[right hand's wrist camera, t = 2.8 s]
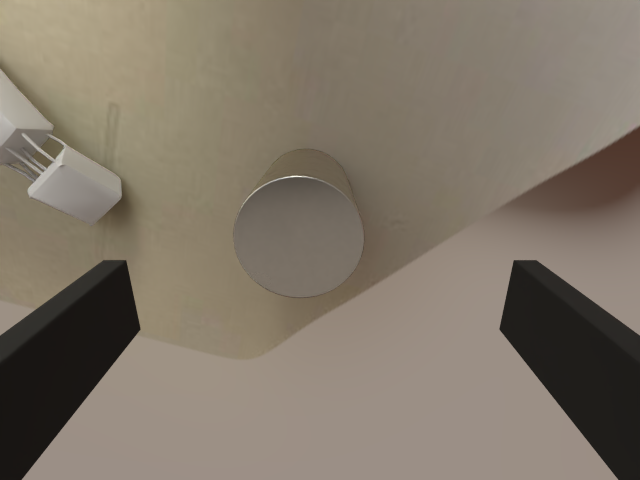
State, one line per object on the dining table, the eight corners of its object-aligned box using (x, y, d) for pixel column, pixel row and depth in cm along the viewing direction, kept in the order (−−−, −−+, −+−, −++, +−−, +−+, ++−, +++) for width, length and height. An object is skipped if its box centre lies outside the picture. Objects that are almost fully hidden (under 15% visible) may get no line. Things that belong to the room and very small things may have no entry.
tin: (354, 228, 28) (370, 290, 19) (271, 239, 28) (248, 305, 19) (344, 142, 26) (357, 166, 17) (254, 155, 26) (218, 185, 17)
